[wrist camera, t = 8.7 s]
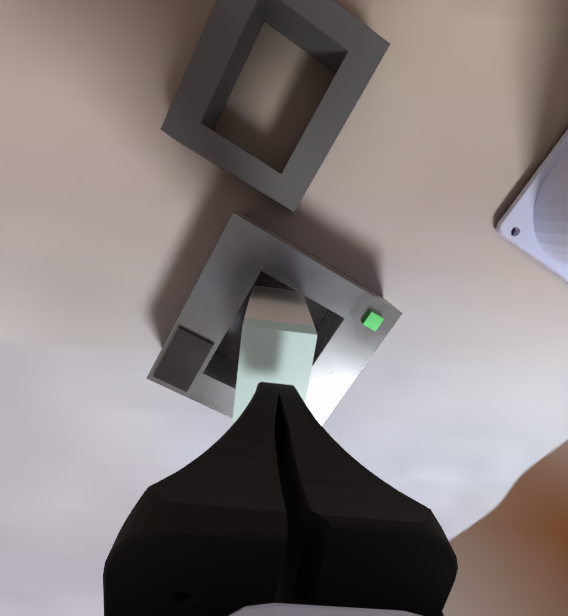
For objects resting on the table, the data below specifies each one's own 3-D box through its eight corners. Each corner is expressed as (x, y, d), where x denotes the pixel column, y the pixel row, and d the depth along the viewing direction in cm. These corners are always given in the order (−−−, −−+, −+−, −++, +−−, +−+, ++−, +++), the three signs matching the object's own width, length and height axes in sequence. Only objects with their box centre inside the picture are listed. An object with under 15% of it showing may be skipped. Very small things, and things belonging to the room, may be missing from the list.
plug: (302, 291, 20) (317, 334, 13) (291, 358, 21) (300, 429, 14) (252, 285, 19) (242, 326, 13) (245, 353, 21) (232, 423, 14)
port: (383, 298, 20) (404, 314, 17) (299, 419, 22) (303, 454, 19) (239, 211, 18) (232, 212, 15) (164, 354, 20) (144, 381, 17)
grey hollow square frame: (372, 67, 16) (390, 43, 14) (291, 211, 18) (294, 211, 16) (250, -24, 15) (245, -68, 13) (176, 140, 17) (160, 129, 14)
